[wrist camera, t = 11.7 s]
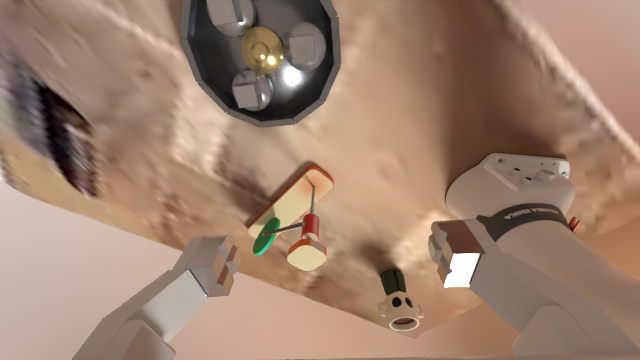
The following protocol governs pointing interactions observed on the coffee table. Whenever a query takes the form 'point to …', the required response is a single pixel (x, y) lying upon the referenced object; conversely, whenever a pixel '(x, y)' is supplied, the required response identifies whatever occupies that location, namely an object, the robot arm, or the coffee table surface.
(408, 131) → the coffee table surface
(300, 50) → the gear
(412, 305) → the character mug
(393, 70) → the coffee table surface
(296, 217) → the crank mechanism
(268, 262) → the coffee table surface
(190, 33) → the carrier
